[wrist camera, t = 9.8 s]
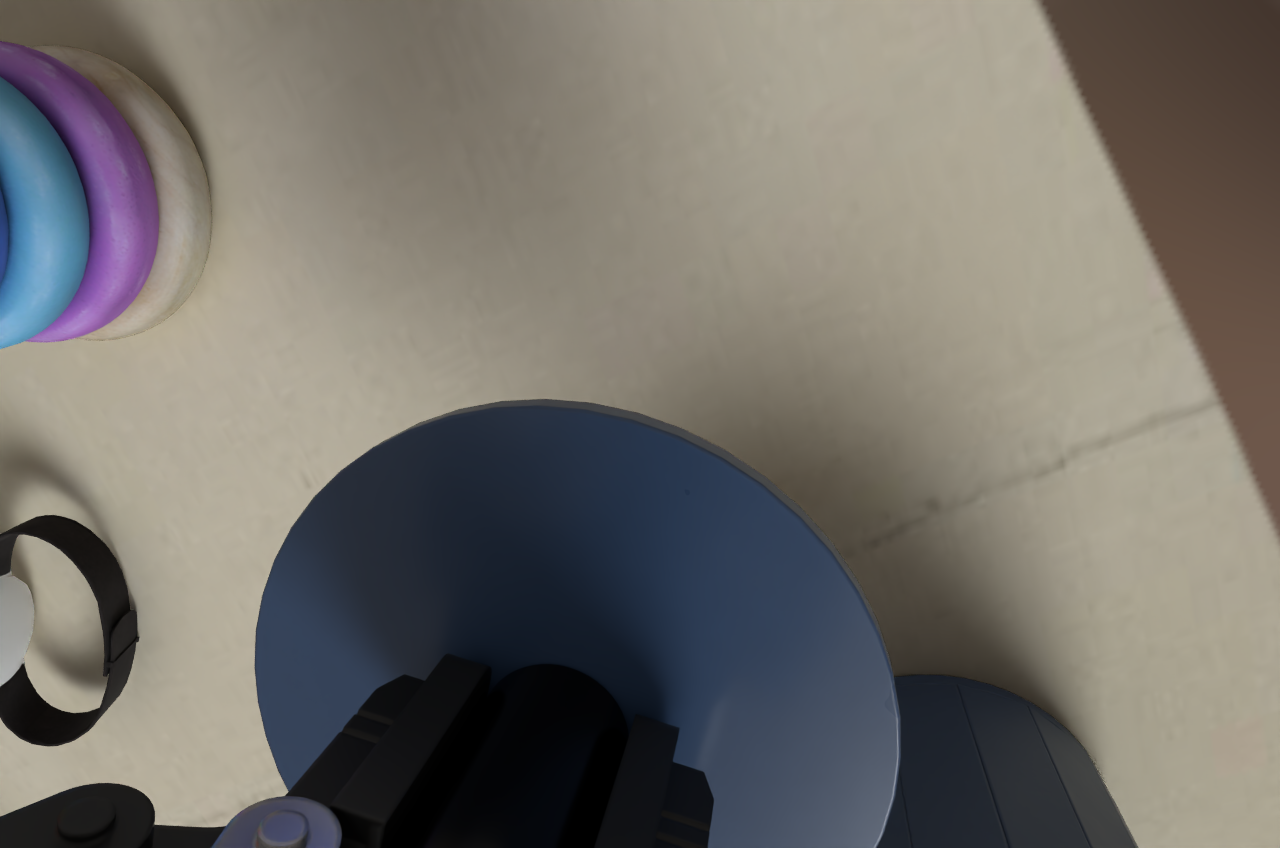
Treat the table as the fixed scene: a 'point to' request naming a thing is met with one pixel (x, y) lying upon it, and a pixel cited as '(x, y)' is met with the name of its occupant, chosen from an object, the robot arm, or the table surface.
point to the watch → (8, 619)
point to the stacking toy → (93, 200)
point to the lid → (585, 628)
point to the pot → (993, 774)
